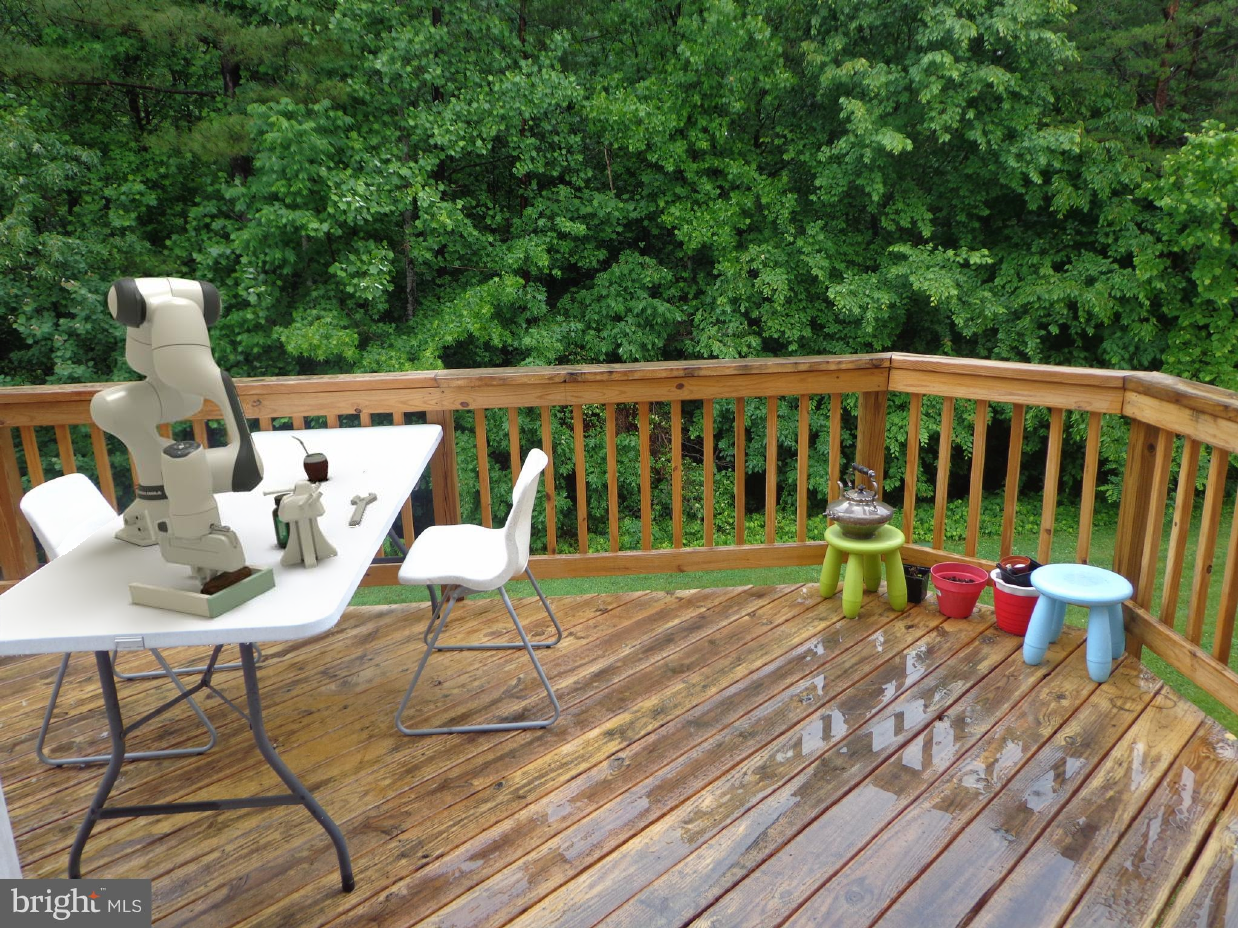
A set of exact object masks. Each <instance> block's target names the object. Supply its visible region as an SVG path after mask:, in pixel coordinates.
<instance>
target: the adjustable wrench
mask: <svg viewBox="0 0 1238 928" xmlns="http://www.w3.org/2000/svg"><path fill="white" fill-rule="evenodd" d="M377 500H378V496H377V493H375V492H368V495H367V496H363V497H361V496H360V494H357V495H355V496H353V497H352V499H350V505H352V506H353V505H354V506H355V508H354V511H353V513H352V514H351V517H350V519H349V521H348V527H349V526H356V525H359V524H360V525H361V523H362V520H363V518H362V516H363V517H364V515H363V513H364V514H365V512H364V511H366V509H367V507H368V506H369V505H370V504H372V503H374V502H375V501H377ZM367 505H368V506H367ZM366 506H367V507H366ZM365 508H366V509H365ZM361 519H362V520H361ZM360 522H361V523H360ZM360 525H359V526H360Z"/></svg>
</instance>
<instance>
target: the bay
mask: <svg viewBox="0 0 1238 928" xmlns="http://www.w3.org/2000/svg"><path fill="white" fill-rule="evenodd" d="M244 566H248V567H249V569H250V570H251V576H250V577H248V578H246V579H244V580H242V581H240V582H238V583H236V584H234V585H232V586H230V587H228V588H226V589H224V590H222V591H220V592H218V593H216V594H214V595H212V596H210V595H204V594H200V593H199V592H198V593H197V592H192V591H186V590H180V589H174V588H169V587H162V586H159V585H158V586H157V585H150V584H145V583H140V582H132V583H128V588H129V592H130V597H131V601H132V603H133V604H137V603H138V605H142V604H143V605H144V606H149V607H153V608H160V609H164V610H168V611H169V610H170V611H176V612H181V613H187V614H192V615H198V616H200V617H208V618H213V619H215V618H217V617H220V616H221V615H223V614H224V613H226V612H227V613H228V612H229V611H230V610H232V609H234V608H236V607H238V606H241V605H242V604H245V603H246V602H248V601H249V600H251V599H253V598H255V597H257V596H259V595H262V594H263V593H265V592H267V591H269V590H272V589H273V588H275V587H276V582H275V576H274V575H275V573H274V569H273V567H265V566H260V565H259V566H258V565H252V564H247V563H245V565H244ZM190 571H191V572H190V573H191V576H192V577H197V575H196V574H195V573H194V571H193V568H192V566H190ZM223 572H224V571H220V570H218V573H217V576H218V575H219V574H221V573H223ZM207 574H208V572H207Z"/></svg>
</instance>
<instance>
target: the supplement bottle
mask: <svg viewBox="0 0 1238 928" xmlns="http://www.w3.org/2000/svg"><path fill="white" fill-rule="evenodd" d="M291 493H292V492H285V493H279V494H276V495H275V496H274V498H273V499H274V506H275V507H274V508H273V509H272V511H271V515H272V522H273V527H274V534H275V538H276V544H277V546H278V548H281V549H286V547H287V544H288V540H289V536H290V523H289V522H286V523H284V522H282V521H281V520H279V515H278V511H279V506H280V502H281V500H282V498H283V496H286V495H288V494H291Z"/></svg>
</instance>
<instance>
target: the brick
mask: <svg viewBox="0 0 1238 928" xmlns="http://www.w3.org/2000/svg"><path fill="white" fill-rule="evenodd" d="M250 576H251V570H250V569H249V567H248V566H244V567H242V568H240V569H238V570H236V571H234V572H227V571H224V572H223V573H221V574H219V575H218V576H216V577H214V578H212V579H211V580H209V581H208V582H206V583H205V584H204V586H201V587H202V588H201V589H200V590H199V594H204V595H210V596H212V595H214V594H216V593H218V592H220V591H222V590H224V589H226V588H228V587H230V586H232V585H234V584H236V583H238V582H240V581H242V580H244V579H246V578H248V577H250Z"/></svg>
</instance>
